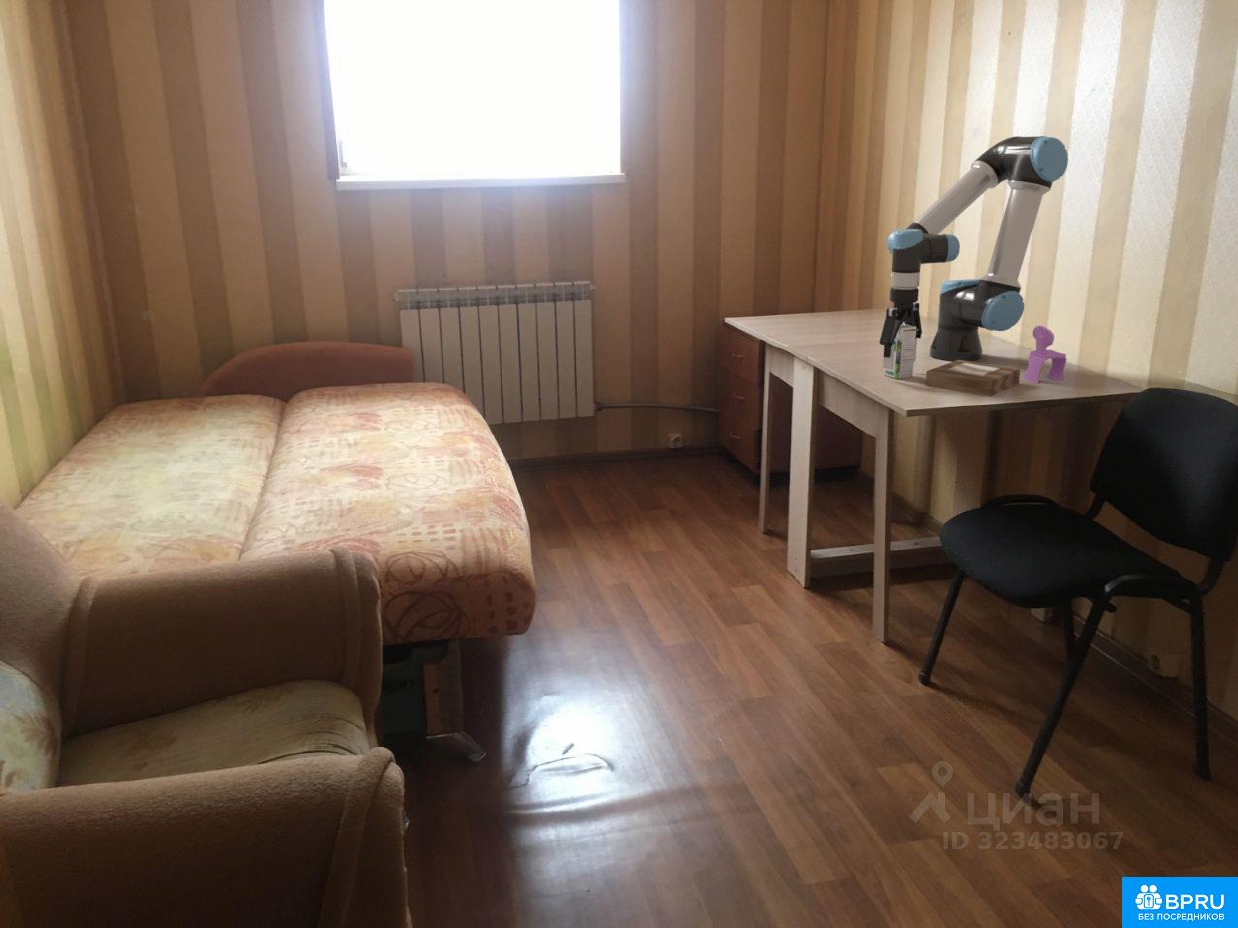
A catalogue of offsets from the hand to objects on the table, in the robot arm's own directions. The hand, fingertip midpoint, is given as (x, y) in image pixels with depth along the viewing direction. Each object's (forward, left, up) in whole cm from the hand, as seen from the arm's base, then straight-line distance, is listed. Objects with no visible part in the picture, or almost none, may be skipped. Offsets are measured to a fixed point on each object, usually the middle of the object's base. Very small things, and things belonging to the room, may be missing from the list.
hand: (899, 364), depth 285 cm
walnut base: (-4, +20, -3) cm, 21 cm away
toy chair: (-22, +32, -4) cm, 39 cm away
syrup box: (0, 0, -3) cm, 3 cm away
